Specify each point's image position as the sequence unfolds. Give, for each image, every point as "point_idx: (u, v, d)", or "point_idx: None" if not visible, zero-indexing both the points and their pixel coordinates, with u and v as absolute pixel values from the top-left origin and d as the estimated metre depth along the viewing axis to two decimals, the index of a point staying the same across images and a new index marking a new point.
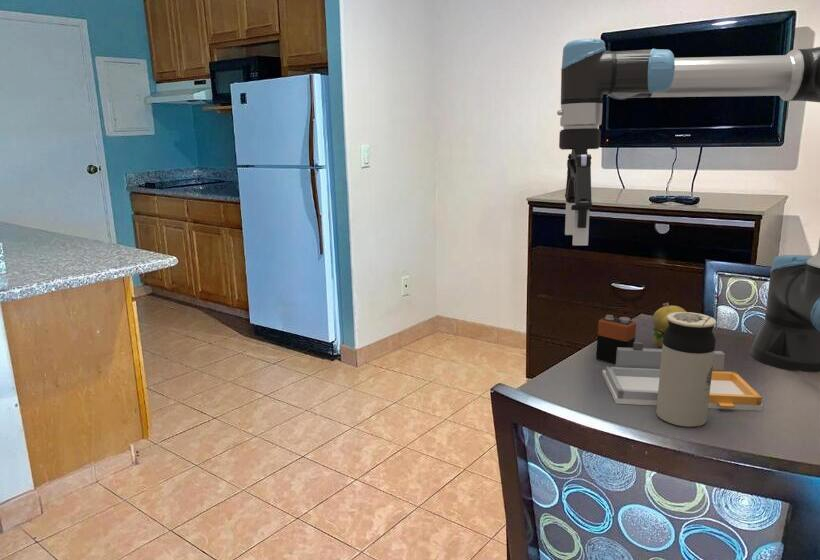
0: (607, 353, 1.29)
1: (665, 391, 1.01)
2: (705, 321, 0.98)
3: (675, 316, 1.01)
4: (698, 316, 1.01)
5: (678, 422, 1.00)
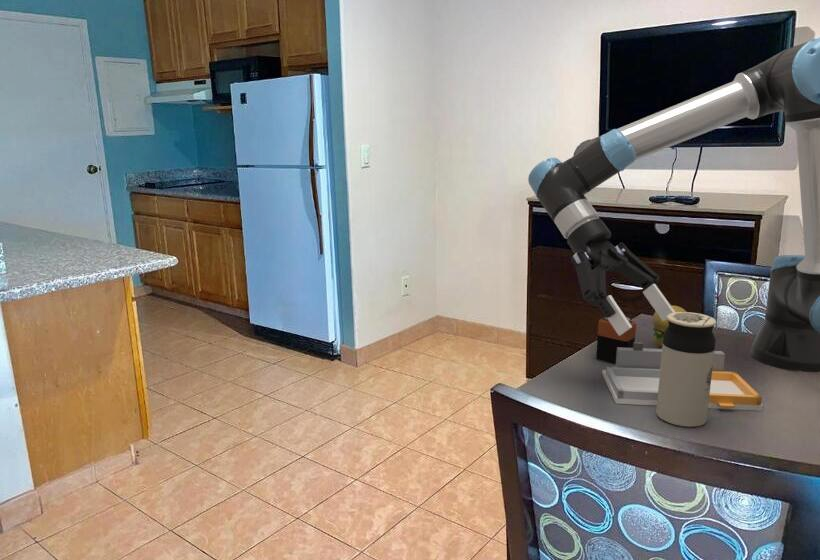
0: (607, 353, 1.29)
1: (665, 391, 1.01)
2: (705, 321, 0.98)
3: (675, 316, 1.01)
4: (698, 316, 1.01)
5: (678, 422, 1.00)
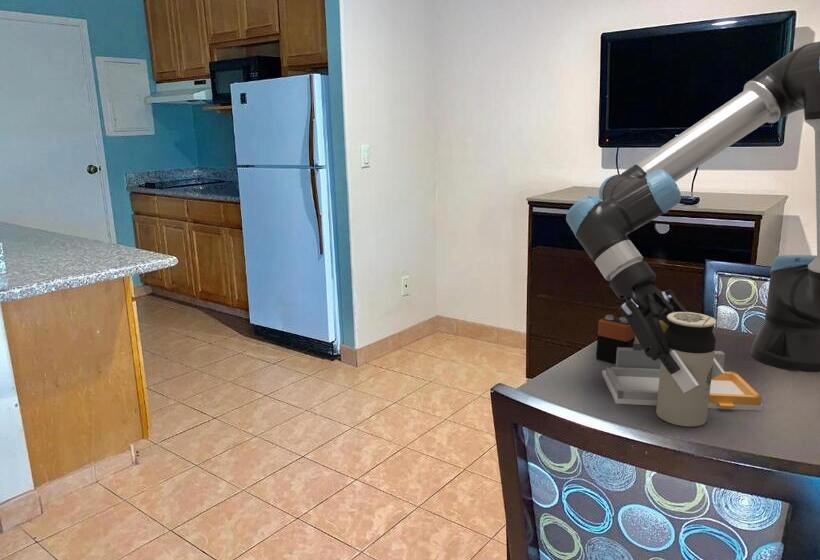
0: (607, 353, 1.29)
1: (665, 391, 1.01)
2: (705, 321, 0.98)
3: (675, 316, 1.01)
4: (699, 315, 1.01)
5: (678, 422, 1.00)
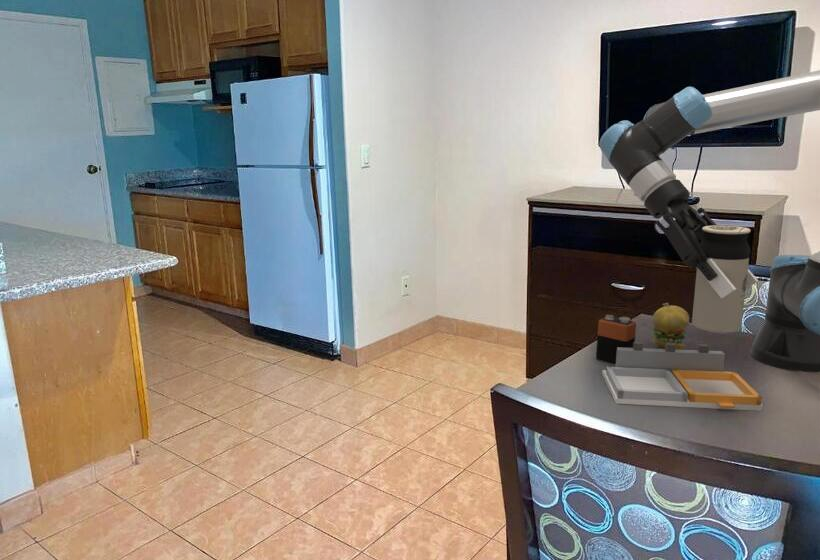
0: (607, 353, 1.29)
1: (701, 300, 1.06)
2: (740, 229, 1.02)
3: (710, 227, 1.05)
4: (733, 227, 1.05)
5: (715, 328, 1.05)
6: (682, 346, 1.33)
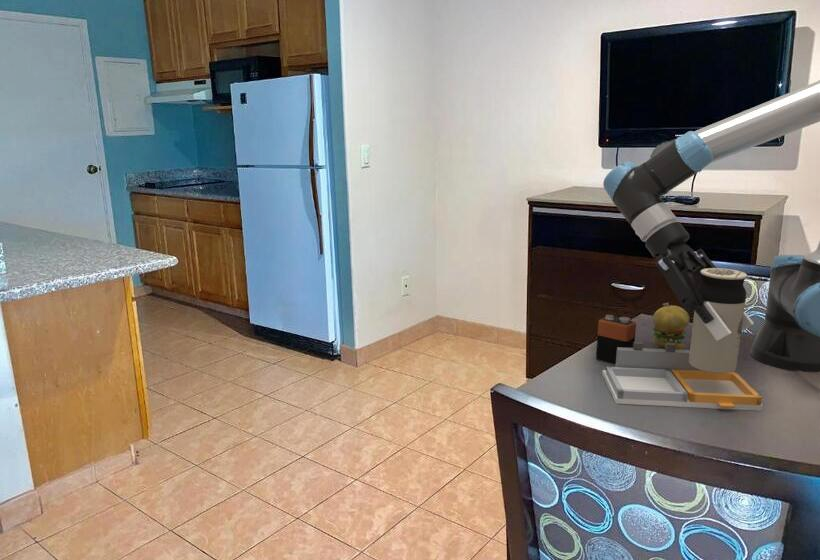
0: (607, 353, 1.29)
1: (698, 341, 1.09)
2: (737, 274, 1.06)
3: (708, 271, 1.09)
4: (730, 271, 1.09)
5: (710, 369, 1.08)
6: (682, 346, 1.33)
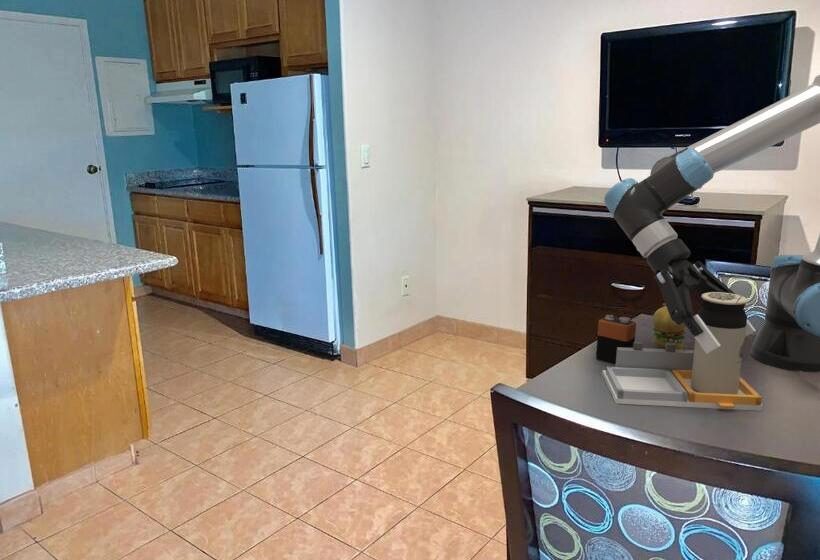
0: (607, 353, 1.29)
1: (700, 365, 1.10)
2: (737, 299, 1.07)
3: (709, 295, 1.10)
4: (731, 295, 1.10)
5: (712, 392, 1.09)
6: (682, 346, 1.33)
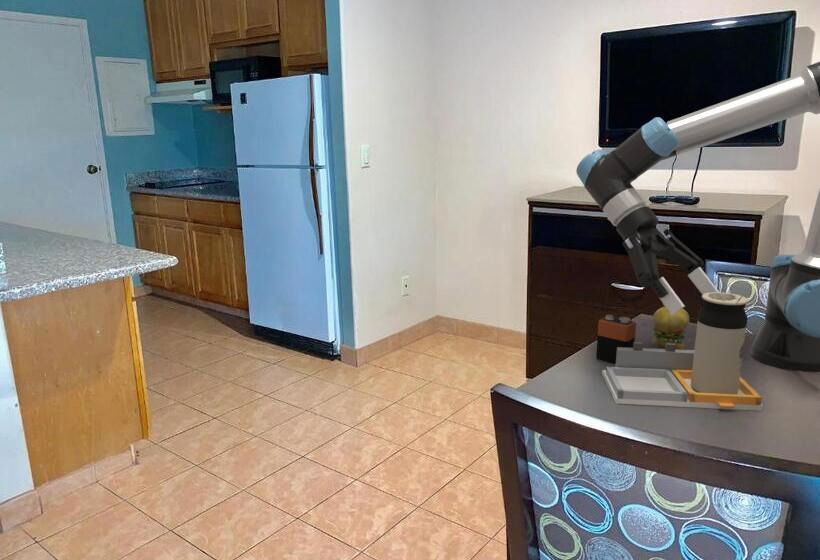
0: (607, 353, 1.29)
1: (700, 365, 1.10)
2: (738, 300, 1.07)
3: (710, 295, 1.10)
4: (731, 295, 1.10)
5: None
6: (682, 346, 1.33)
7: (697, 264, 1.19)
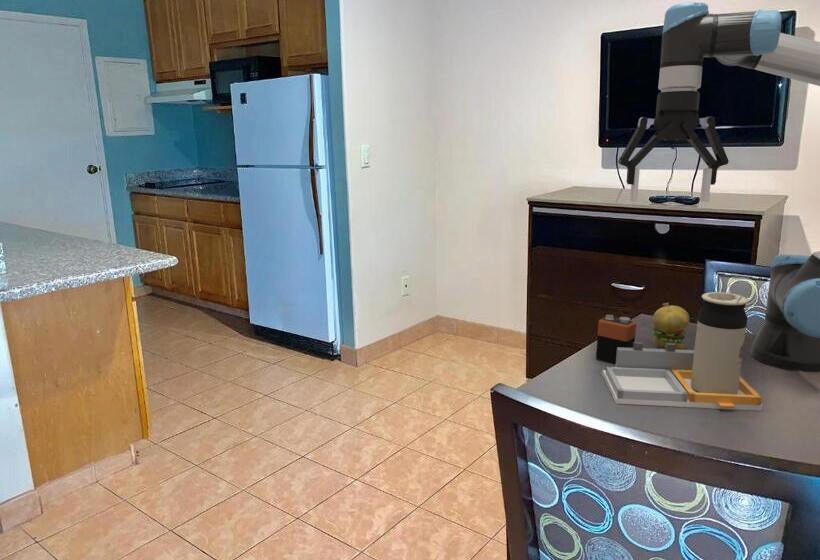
0: (607, 353, 1.29)
1: (700, 365, 1.10)
2: (738, 300, 1.07)
3: (710, 295, 1.10)
4: (731, 295, 1.10)
5: None
6: (682, 346, 1.33)
7: (712, 165, 1.17)
